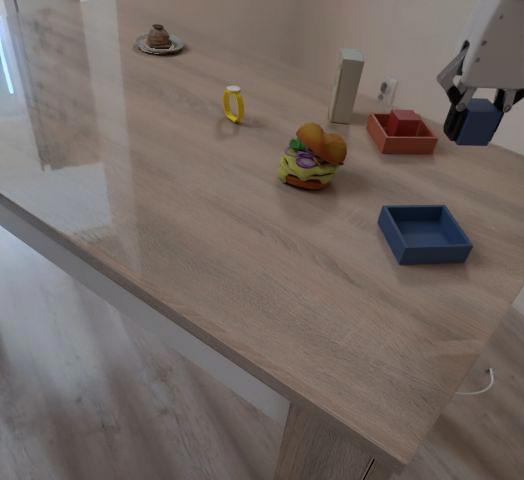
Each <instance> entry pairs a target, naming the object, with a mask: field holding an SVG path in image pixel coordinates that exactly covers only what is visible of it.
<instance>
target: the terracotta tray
mask: <svg viewBox="0 0 524 480" xmlns="http://www.w3.org/2000/svg"><path fill="white" fill-rule="evenodd" d="M390 114H391V112H370V113H369V115H368V119H367V122H366V123H367V124H366V130H367V131H368V133H369V134H370V136H371V138H372V140H373V141H374V143H375V144H376V146H377V148H378V149H379V151H380V153H381V154H422V155H423V154H428V155H429V154H431V155H432V154H434V151H435V149H436V146H437V144H438V141H439V137H438V136H437V135H436V133H435V132H434V131H433V130H432V128H431V127H430V126H429V124H428V123H427V122H426V121H425V119H424V118H423V117H422V116H421V114H420V113H416V115H417V116H418V117H419V119H420V120H421V121H420V124H419V127H418V130H417V133H416V136H415V137H395V136H388V135H387V134H386V132H385V131H386V128H387V124H388V121H389V117H390Z"/></svg>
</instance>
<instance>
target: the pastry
mask: <svg viewBox="0 0 524 480" xmlns="http://www.w3.org/2000/svg"><path fill="white" fill-rule="evenodd" d="M151 27H152V28H150V29H149V31H148V32H147V33H146V34H143V35H142V34H141V35H138V36H137V37H136V38H135V39H134V43H135V45H136V46H137V47H138V48H139V47H140V48H143V49H145V50H147V51H149V52H152V53H159V54H165V53H167V54H169V53H168V52H171V53H170V54H175V53H174V52H177V53H179V52H180V51H181V50H182V49H183V47H184V46H185V42H184V40H183V39H181V38H179V37H178V36H176V35H172V34H169V33H168V31H167V30H166V28H165V27H164V25H162V24H159V23H158V24H157V23H155V24H152V25H151ZM144 39H147V41H146V44H147V45H148V46H149V47H150V48H155V49H169V48H170V47H171V46H172V44H173V45H174V48H173V49H171V50H153V49H149V48H146V47H145V46H143V44H141V43H139V41H141V40H144ZM165 55H166V54H165Z"/></svg>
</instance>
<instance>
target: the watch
mask: <svg viewBox="0 0 524 480" xmlns="http://www.w3.org/2000/svg"><path fill="white" fill-rule="evenodd" d="M230 95H233V96H234V98H235V102H236V105H237V108H236V109H237V113H236V116H234V115H233V112H232V110H231V105H230ZM222 108H223V112H224V114H225V117H226V118H227V119H229V120H230V121H232V122H233V123H238V122H241V121H242V120H243V118H244V114H245V103H244V99H243V96H242V94H241V87H240V86H237V85H228V86H226V87H225V90H224V92H223V95H222Z"/></svg>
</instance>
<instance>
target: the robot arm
mask: <svg viewBox="0 0 524 480" xmlns="http://www.w3.org/2000/svg"><path fill="white" fill-rule="evenodd" d="M450 60H451V61H450V62H449V63H448V64H447V65H446V66H445V67H444V68H443V69H442V70H440V72H439V73H438V74H437V75H436V82H437V83H438V84H439V86H440V87H441V88H442V89H443V90H444V92H445V94H446V96H447V98H448V101H449V103H450V107H449V110H448V112H447V115H446V116H445V120H444V122H443V130H442V131H443V134H444V135H445V136H446V137H447V139H448V140H449V141H450V142H454V141H455V140H457V137H458V135H459V132H460V130H461V127H462V125H463V123H464V120H465V118H466V115H467V112H466V111H465V108H466V106H467V105H468V103H469V101H470V100H471V98H474V97H473V96H474V95H475V93H476V92H477V91H478V89H496V90H495V94H494V99H493V103H492V102H491V103H492V104H493V105H494V106H495V107H496V108H497V109H498V110H499V111H500V112H502V115H501V117H500V119H499V121H498V123H497V126H496V128H495V130H494V132H493V134H492V136H491V139H490V141H489V143H490V142H492V140H493V137H494V135H495V134H496V132H497V130H498V129H499V126H500V125H501V122H502V120H503V118H504V116H505V114H508V113H510V111H512V109H513V106H515V105H516V104H517V103H519V102H520V101H521V100H523V99H524V0H477V1H476V3H475V5H474V7H473V9H472V11H471V13H470V15H469V17H468V19H467V22H466V23H465V26H464V28H463V30H462V33H461V34H460V37H459V40H458V43H457V44H456V47H455V50H454V52H453V55H452V57H451V59H450ZM456 76H457V77H458V76H459V77H460V79H459V81H458V82H457V84H455V83H454V78H455V77H456Z"/></svg>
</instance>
